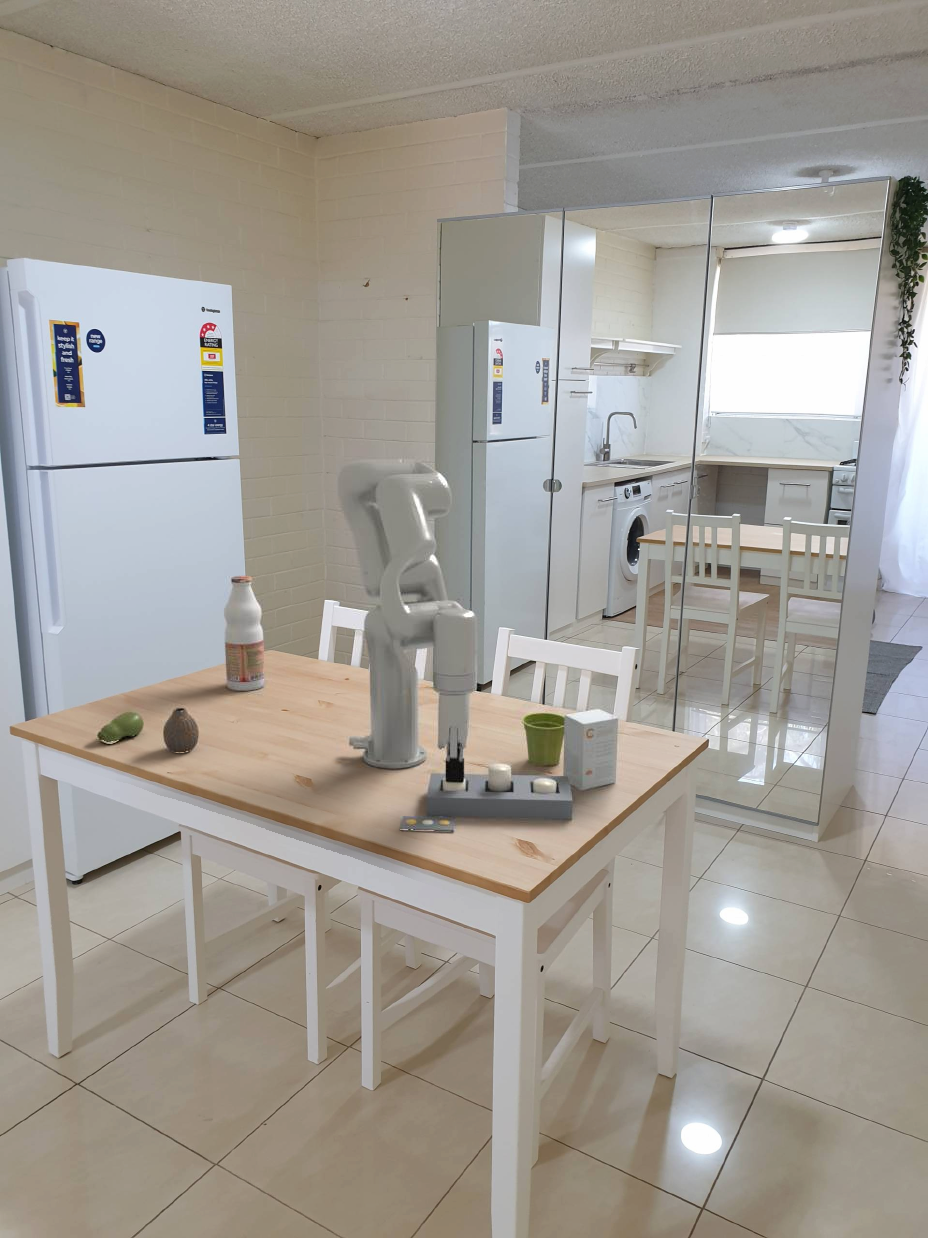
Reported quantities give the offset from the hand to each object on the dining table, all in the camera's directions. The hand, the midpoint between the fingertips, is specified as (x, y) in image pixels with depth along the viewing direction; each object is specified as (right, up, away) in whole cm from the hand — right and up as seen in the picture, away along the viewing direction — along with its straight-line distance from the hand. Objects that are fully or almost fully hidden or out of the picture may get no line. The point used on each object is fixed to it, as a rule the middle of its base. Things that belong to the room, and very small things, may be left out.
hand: (454, 780), depth 166 cm
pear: (-71, +3, +33) cm, 78 cm away
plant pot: (+18, 0, +22) cm, 28 cm away
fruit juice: (-53, +11, +72) cm, 90 cm away
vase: (-56, +1, +27) cm, 62 cm away
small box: (+25, -2, +12) cm, 28 cm away
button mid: (+8, -1, 0) cm, 8 cm away
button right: (+16, -4, 0) cm, 16 cm away
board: (+8, -4, +1) cm, 9 cm away
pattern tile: (-4, -6, -7) cm, 11 cm away
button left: (0, -4, +1) cm, 4 cm away
